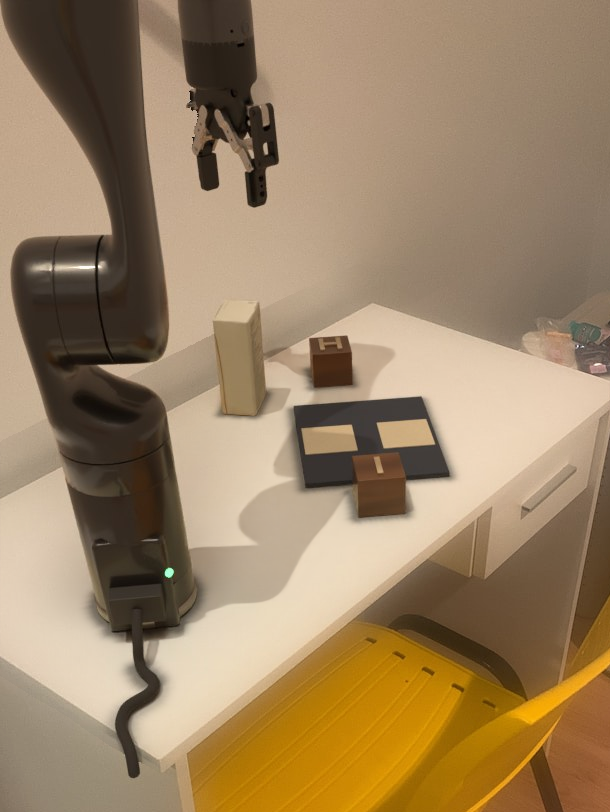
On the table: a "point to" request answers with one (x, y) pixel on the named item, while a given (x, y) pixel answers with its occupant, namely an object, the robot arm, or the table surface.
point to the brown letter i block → (379, 484)
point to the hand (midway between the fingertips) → (233, 197)
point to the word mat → (366, 438)
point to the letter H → (331, 361)
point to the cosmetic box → (240, 356)
